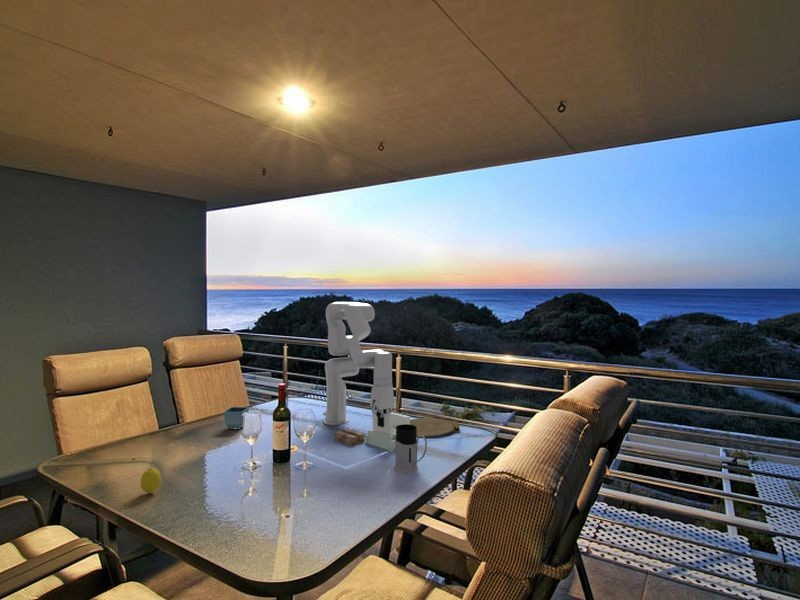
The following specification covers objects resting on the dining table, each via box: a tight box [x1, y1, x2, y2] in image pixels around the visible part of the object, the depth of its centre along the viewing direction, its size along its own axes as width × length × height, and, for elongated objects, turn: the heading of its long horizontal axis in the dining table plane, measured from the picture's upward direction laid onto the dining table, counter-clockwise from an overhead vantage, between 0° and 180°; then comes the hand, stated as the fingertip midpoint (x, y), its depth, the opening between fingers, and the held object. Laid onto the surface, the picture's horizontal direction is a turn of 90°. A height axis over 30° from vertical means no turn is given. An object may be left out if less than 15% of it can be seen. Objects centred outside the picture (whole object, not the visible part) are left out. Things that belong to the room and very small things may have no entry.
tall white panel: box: [372, 413, 393, 440], centre depth 179 cm, size 10×2×12 cm, turn 49°
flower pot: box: [223, 406, 250, 430], centre depth 203 cm, size 9×9×9 cm
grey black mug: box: [393, 424, 428, 475], centre depth 154 cm, size 9×14×15 cm, turn 44°
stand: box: [333, 428, 366, 447], centre depth 184 cm, size 12×8×4 cm, turn 49°
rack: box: [364, 412, 411, 453], centre depth 184 cm, size 14×17×11 cm
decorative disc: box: [410, 417, 460, 438], centre depth 205 cm, size 29×3×30 cm
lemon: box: [140, 467, 162, 493], centre depth 135 cm, size 6×6×8 cm
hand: (382, 425), depth 179 cm, fingers closed on tall white panel, 1 cm apart
